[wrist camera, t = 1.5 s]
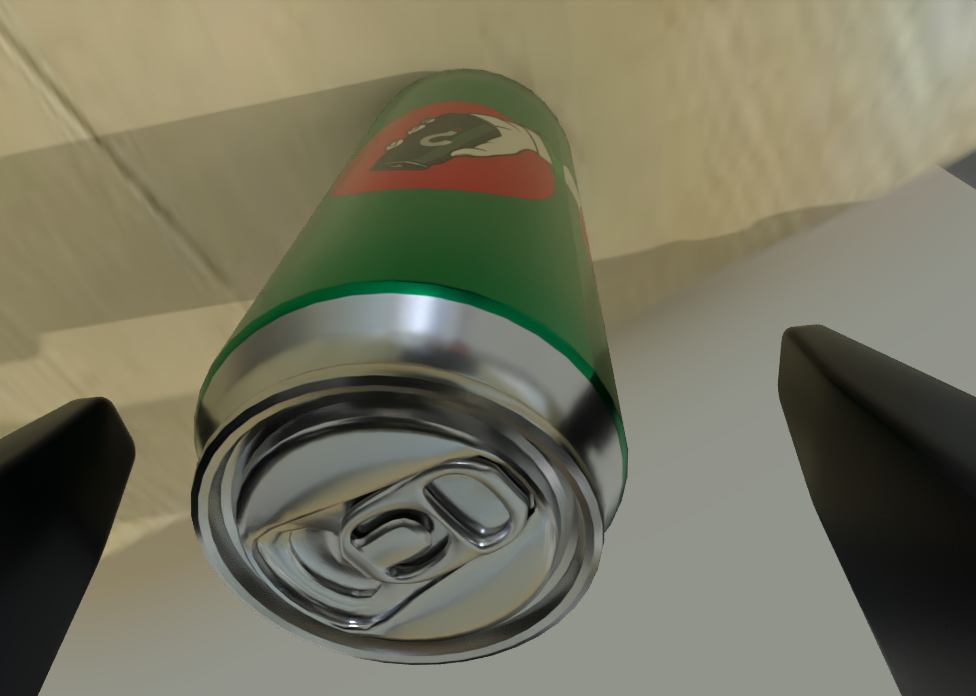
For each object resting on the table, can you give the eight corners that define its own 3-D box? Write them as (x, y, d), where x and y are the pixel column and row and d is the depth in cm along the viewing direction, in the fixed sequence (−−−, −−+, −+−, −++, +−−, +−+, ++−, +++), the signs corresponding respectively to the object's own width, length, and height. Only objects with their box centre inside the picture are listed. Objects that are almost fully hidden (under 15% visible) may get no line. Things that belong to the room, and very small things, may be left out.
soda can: (326, 148, 17) (47, 499, 7) (491, 14, 15) (429, 228, 5) (453, 295, 19) (377, 729, 9) (610, 193, 18) (730, 589, 7)
